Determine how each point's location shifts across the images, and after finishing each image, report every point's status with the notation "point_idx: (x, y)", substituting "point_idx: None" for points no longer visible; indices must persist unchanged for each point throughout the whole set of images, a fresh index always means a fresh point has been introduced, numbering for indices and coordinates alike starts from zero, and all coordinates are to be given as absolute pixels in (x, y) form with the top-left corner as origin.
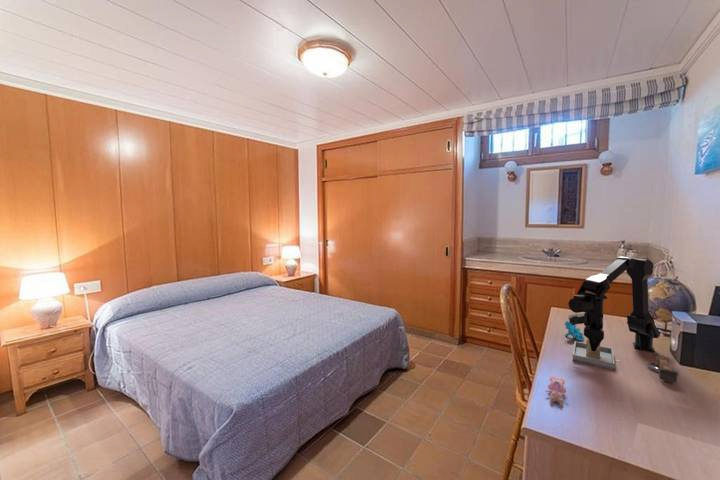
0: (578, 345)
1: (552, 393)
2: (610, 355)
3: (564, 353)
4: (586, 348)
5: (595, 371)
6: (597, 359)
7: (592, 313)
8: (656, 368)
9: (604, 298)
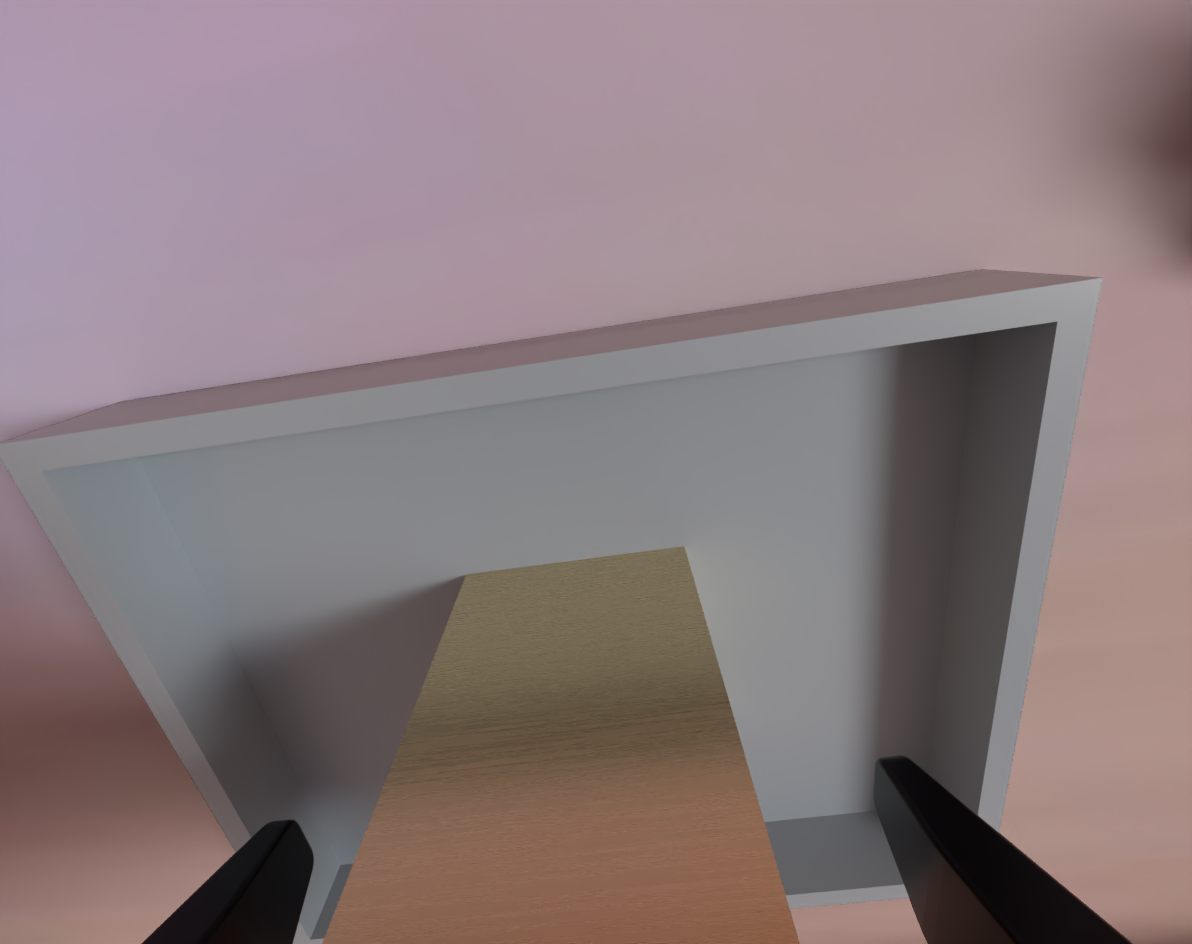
0: (980, 369)
1: None
2: (777, 813)
3: (365, 173)
4: (420, 696)
5: (61, 714)
6: (230, 802)
7: None
8: None
9: None
